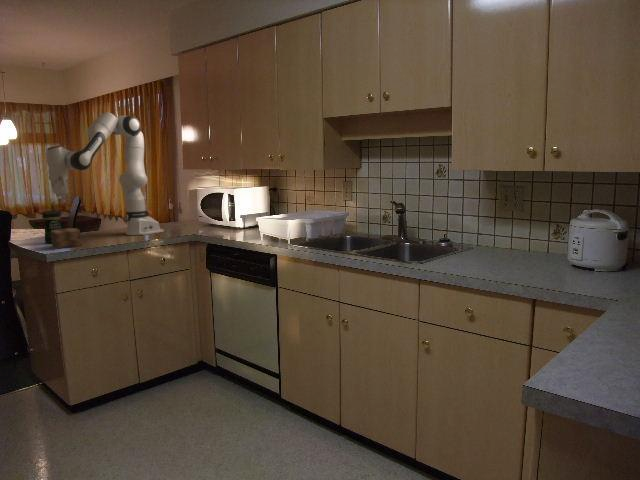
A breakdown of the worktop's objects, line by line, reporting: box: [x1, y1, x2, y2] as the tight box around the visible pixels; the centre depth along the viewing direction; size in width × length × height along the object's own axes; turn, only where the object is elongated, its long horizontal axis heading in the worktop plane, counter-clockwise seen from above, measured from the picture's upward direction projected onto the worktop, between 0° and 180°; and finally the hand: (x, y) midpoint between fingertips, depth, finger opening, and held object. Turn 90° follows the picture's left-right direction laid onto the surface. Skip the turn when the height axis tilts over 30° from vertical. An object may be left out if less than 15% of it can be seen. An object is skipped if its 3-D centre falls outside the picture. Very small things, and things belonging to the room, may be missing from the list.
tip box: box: [51, 227, 83, 250], centre depth 276 cm, size 12×12×9 cm
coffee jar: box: [41, 210, 62, 244], centre depth 291 cm, size 10×8×19 cm
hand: (61, 202), depth 273 cm, fingers open, 8 cm apart
